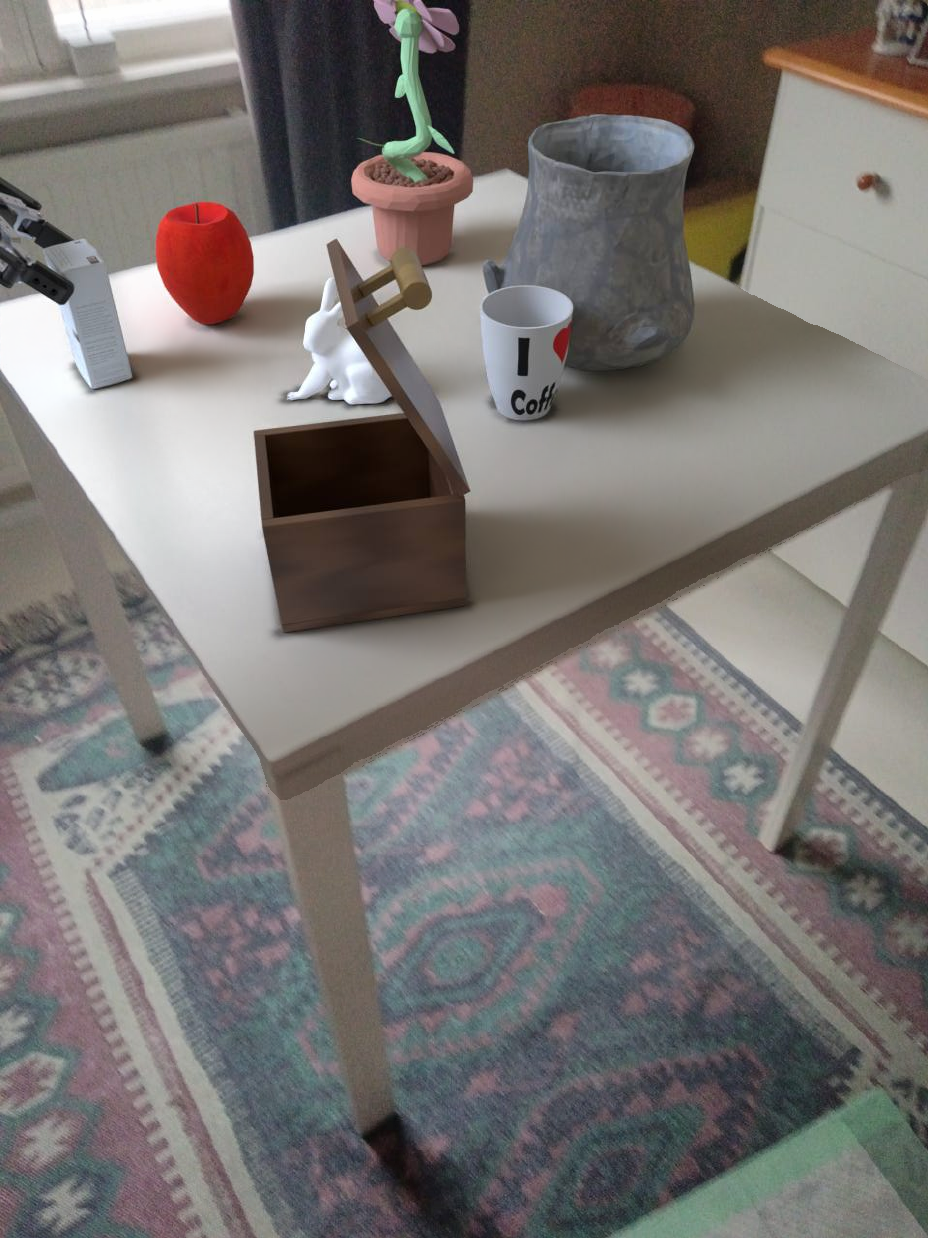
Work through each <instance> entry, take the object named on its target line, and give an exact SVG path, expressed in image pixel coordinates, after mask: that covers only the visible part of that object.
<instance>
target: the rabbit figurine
mask: <svg viewBox="0 0 928 1238" xmlns="http://www.w3.org/2000/svg"><path fill="white" fill-rule="evenodd" d="M337 295H338V291H337V286H336V282H335V278H334V276H331V277H329V278H328V279H326V282H325V283H324V289H323V294H322V298H321V304H320V308H319V310H318V311H317V312H315V313H313V314H312V315H310V316H309V317H308V318H307V320H306V322H305V326H304V327H305V329H304V335H303V342H302V343H303V347H304V349H305V350H306V351H308V352H310V353H311V357H312V361H313V365H312V367H311V369H310V371H309V373H308V375H307V377H305V379H304V381H303V383H302V384H301V386H300V388H299V390H298V391H290V392H288V393H287V395H286V397H287V398H286V400H290V401H293V400H306V399H308V398H309V397H311V396H313V395H315V394H317V393H319V392H321V391H322V390H323V389H326V387H327V386H328V385H329V387H330V388H331V389H329V391H328V394H327V397H328V399H329V400H331V401H340V400H344V401H345V402H346V403H347V404H349V405H364V404H379V403H383V402H385V401H386V400H387V399H389V398H393V396H392V395H391V393H390V392H389V390H388V389H387V387H386V386H385V384H384V383H383V381H382V380H381V378H380V377H379V376H378V374H377V373H376V371H375V370H374V368H373V367H372V365H371V364H370V362H369V361H368V359H367V358H366V356H365V355H364V353H363V352H362V350H361V349H360V347H359V346H358V344H357V343H356V341H355V340H354V338H353V337H352V335H351V334H350V333H349V331H348V330H347V328H343V327H341V326H340V325H339V324H338V321H339V320H341V319H342V318H344V315H343V311H342V307H341V303H340V301H339V302H338V303H336V304H335V302H336V297H337ZM395 332H396V333H397V331H396V330H395ZM332 379H333V380H332Z"/></svg>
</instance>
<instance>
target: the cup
mask: <svg viewBox="0 0 928 1238" xmlns="http://www.w3.org/2000/svg"><path fill="white" fill-rule="evenodd" d="M572 314H573V304H572V302H571V300H570V299H569V298H568V297H567V296H566V295H564V294H562V293H561V292H558V291H556V290H553V289H550V288H546V287H540V286H529V285H523V286H511V287H506V288H502V289H499V290H496V291H494V292H492V293H490V294H489V293H488V294H487V295H485V296H484V297H483V298H482V299H481V301H480V304H479V315H480V327H481V328H480V329H481V343H482V354H483V361H484V365H485V370H486V377H487V382H488V387H489V389H490V392H491V395H492V398H493V401H494V404H495V406H496V409H497V412H499V414H501V415H502V416H503V417H505V418H507V419H510V420H514V421H533V420H537V419H540V418H542V417H544V416H546V415H547V414H548V413H549V411H550V409H551V407H552V404H553V403H554V400H555V398H556V395H557V392H558V389H559V387H560V384H561V381H562V377H563V373H564V368H565V365H564V364H565V360H566V356H567V352H568V344H569V337H570V329H571V321H572Z"/></svg>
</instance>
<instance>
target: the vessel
mask: <svg viewBox="0 0 928 1238" xmlns="http://www.w3.org/2000/svg"><path fill="white" fill-rule="evenodd" d="M694 150H695V142H694V140H693V138H692V136H691V134H690V133H689V132H688V131H687V130H686V129H685V128H683V127H682V126H680V125H678V124H676V123H673V122H670V121H668V120H665V119H660V118H652V117H646V116H642V115H631V114H630V115H628V114H624V115H623V114H602V113H600V114H591V115H589V116H586V115H582V116H578V117H574V118H569V119H565V120H559V121H553V122H548V123H545V124H541V125H540V126H538V127H536V128H535V129H534V130H533V132H532V133H531V135H530V136H529V137H528V142H527V152H528V153H527V154H528V180H527V190H526V195H525V199H524V204H523V208H522V214H521V216H520V218H519V222H518V225H517V227H516V231H515V234H514V236H513V239H512V241H511V245H510V248H509V250H508V252H507V255H506V258H505V259H504V261H503V262H502V264H501V265H499V266H498V265H497V264H496V262H494V260H491V259H487V260H484V262H483V265H482V274H483V279H484V283H485V288H486V290H487V293H488V294H490V293H492V292H494V291H496V290H499V289H502V288H506V287H511V286H523V285H529V286H540V287H546V288H550V289H553V290H556V291H558V292H561V293H562V294H564V295H566V296H567V297H568V298H569V299H570V300H571V302H572V304H573V314H572V321H571V329H570V337H569V344H568V352H567V356H566V360H565V364H564V367H572V368H576V369H580V370H584V371H614V370H623V369H633V368H635V367H640V366H643V365H646V364H649V363H652V362H655V361H657V360H659V359H661V358H663V357H666V355H668V354H671V352H673V351H674V350H675V349H677V348H678V347H679V346H680V345H682V344H683V342H684V341H686V339H687V337H688V336H689V334H690V332H691V330H692V328H693V323H694V320H695V306H696V305H695V292H694V286H693V278H692V272H691V271H692V270H691V266H690V261H689V254H688V250H687V243H686V236H685V229H684V227H685V226H684V219H685V218H684V194H685V185H686V179H687V173H688V168H689V165H690V163H691V159H692V157H693V154H694Z"/></svg>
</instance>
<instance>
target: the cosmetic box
mask: <svg viewBox="0 0 928 1238" xmlns="http://www.w3.org/2000/svg"><path fill="white" fill-rule="evenodd" d="M42 253H43V256H44V259H45V262H46V264H47V265H46V266H47V267H49V268H50V269H52V270H53V271H55V272H57V273H58V274H60V275H61V276H63V277H64V278H66V279H67V280H69V281H71V282H72V283H73V284H74V287H75V288H74V293H73V294H72V295H71V297H70V298H69V300H68V301H67V303H66V304H64V305H59V304H58V307H59V311H60V315H61V318H62V321H63V325H64V328H65V331H66V335H67V338H68V342H69V345H70V349H71V352H72V356H73V359H74V362H75V365H76V367H77V369H78V372H79V373H80V374H81V376H82V377H83V379H84V381H85V382H86V383H87V385H88V386H89V387H90V389H93V390H96V389H100V388H105V387H109V386H112V385H115V384H120V383H122V382H125V381H128V380H130V379H132V378H133V372H132V368H131V364H130V360H129V356H128V352H127V351H128V350H127V347H126V344H125V339H124V335H123V331H122V326H121V322H120V318H119V314H118V310H117V305H116V302H115V297H114V293H113V289H112V285H111V282H110V276H109V272H108V269H107V266H106V262H105V261H104V259H103V258H102V257H101V255H99V253H98V250H97V249H96V248H95V246H92V245H91V244H90V243H89V242H88V240H87V239H86V238H79V239H74V241H70V242H67V243H62V244H58V245H54V246H51V247H47V248H44V249H43V248H42Z"/></svg>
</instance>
